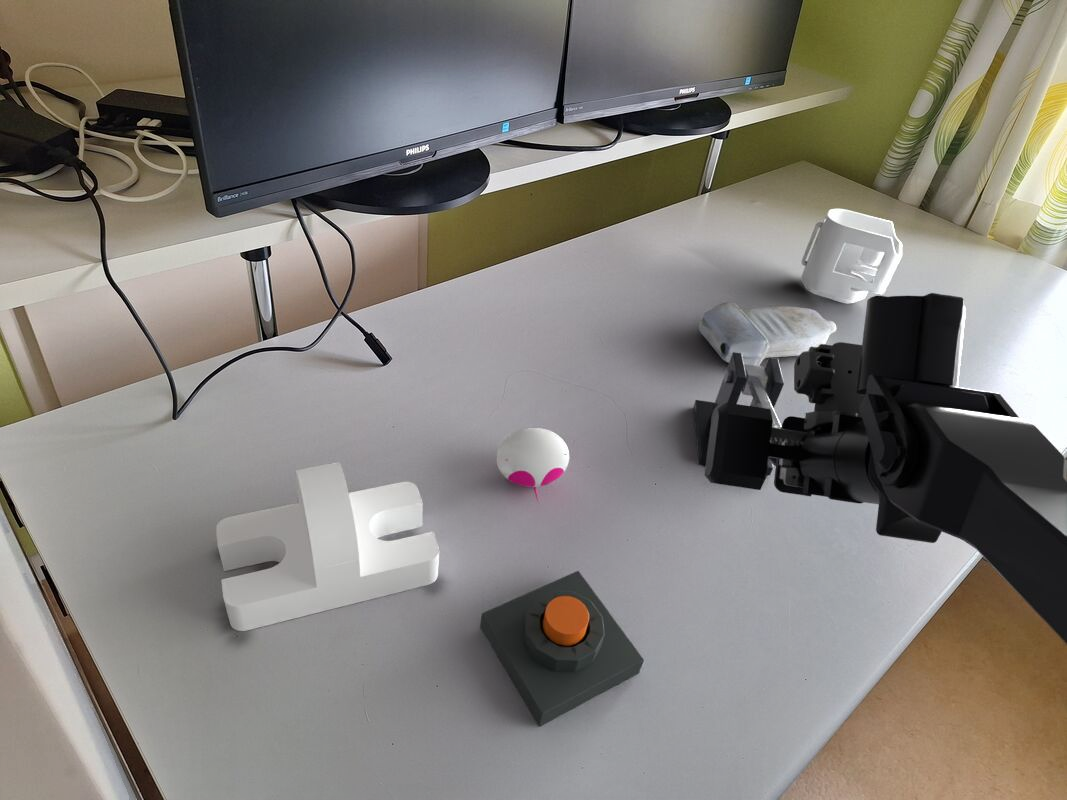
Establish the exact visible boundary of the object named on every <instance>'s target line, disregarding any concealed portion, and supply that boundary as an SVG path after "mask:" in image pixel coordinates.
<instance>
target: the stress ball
mask: <svg viewBox="0 0 1067 800" xmlns="http://www.w3.org/2000/svg"><path fill="white" fill-rule="evenodd" d="M569 462H570V451H569V447H568V445H567V444H566V442H565V440H564V439H563V437H561V436H559V434H557V433H555V432H553V430H550V429H546V428H542V427H528V428H527V427H525V428H522V429H520V430H516V431H514V432H512V433H511V434H509V435H508V436H506V438H504V439H503V440H502V442H501V443H500V445H499V446H498V449H497V452H496V465H497V467H498V470H499V472H500V474H501V475H502V476H503V477H504V478H505V479H507V480H508V481H509V482H511V483H512V484H515V485H518V486H520V487H526V488H533V491H534V495H535V497H536V499H537V500H536V501H537V503H538V505H539V504H540V503H539V498H538V492H537V488H539V487H542V486H546V485H549V484H551V483H553V482H555V481H556V480H558V479H559V478H560V477H561V476H562V475H563V474H564V473H565V471H567V468H568V466H569Z"/></svg>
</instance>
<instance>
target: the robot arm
mask: <svg viewBox="0 0 1067 800" xmlns="http://www.w3.org/2000/svg"><path fill="white" fill-rule="evenodd" d="M964 301H965V299H964V298H963V297H962V296H956V295H950V294H949V295H948V294H944V293H943V294H942V293H936V292H930V293H927V294H925V295H893V296H892V295H891V296H886V295H874V296H870V297H869V298H868V299H867V300H866V309H865V315H864V316H865V317H864V326H863V334H862V342H861V343H862V344H858V343H851V342H843V341H840V342H839V341H838V342H835V343H833V344H832V345H831V344H820V345H819V346H818V347H812V346H811V347H810V348H809V351H804V352H802V353H801V354H800V355H798V356H797V358H796V359H795V361H794V366H793V369H794V370H793V389H794V392H795V393H797V394H799V395H800V394H801V395H805V396H806V397H807V398H808V403H809V404H814V409H813V411H807V412H805V415H804V417H799V416H793V415H792V416H791V415H790V416H787V417H785V418H784V419H783V420H782V423H781V429H780V428H773V427H772V423H773V419H772V414H771V409H767V408H760V407H753V406H750V405H747V404H739V403H737V404H733V403H723V404H720V405H719V406H718V407H716V408H715V409H714V410H713V412H712V420H711V427H710V435H709V443H708V450H707V458H706V466H704V476H705V478H706V479H707V480H708V481H709V483H710V484H716V485H722V486H729V487H736V488H742V489H743V488H744V489H750V490H756V491H761V490H762V488H763V486H764V483H765V481H766V478H767V475H766V472H767V464H768V457H772V458H777V461H776V466H775V469H774V479H773V485H774V488H775V489H776V490H777V491H779V492H780V493H785V494H791V495H799V496H804V497H812V496H819V497H823V498H824V497H826V498H827V499H829V500H833V501H838V502H839V501H840V502H846V503H852V504H853V503H854V504H864V503H866V504H873V505H878V507H877V508H878V509H877V515H876V525H875V532H876V534H877V535H878V536H881V537H887V538H888V537H889V538H895V539H900V540H901V539H902V540H909V541H915V542H921V543H930V544H934V543H937V541H938V540H939V537H940V536H941V534H942V533H945V534H946V535H950V536H952V537H954V538H956V539H959V540H961V541H963V542H965V543H966V544H968V545H969V546H971V547H972V548H973V549H975V550H976V551H977V552H978V553H979V554H980V555H981V556H982V557H983V558H984V559H985V560H986V562H987V563H988V564H990V566H991V567H992V568H993V569H994V570H995V571H996V572H997V573H998V575H1000V577H1002V578H1003V579H1004V581H1006V583H1008V585H1009V586H1010V587H1011V588H1012V589H1013V590H1014V591H1015V592H1016V593H1017V594H1018V595H1019V596H1020V598H1021V599H1023V600H1024V601H1025V603H1027V605H1028V607H1030V608H1031V609H1032V610H1033V611H1034V612H1035V613H1036V614H1037V615H1038V616H1039V617H1040V619H1041V620H1043V621H1044V623H1045V624H1046V625H1047V626H1048V627H1049V628H1050V629H1051V630H1052V631H1053V632H1054V633H1055V634H1056V635H1057V636H1058V638H1060V640H1061V641H1063V643H1064V644H1065V645H1066V646H1067V459H1066V457H1065V456H1064V454H1062V453H1061V451H1059V450H1058V448H1056V446H1055V445H1054V444H1053V443H1052V442H1051V441H1050V440H1049V439H1048V438H1047V437H1046V436H1045V435H1044V434H1043V432H1042V431H1041V430H1040V429H1039V428H1038V427H1037V426H1036V425H1034V424H1033V423H1032V421H1028V420H1025V419H1023V418H1020V417H1019V415H1018V414H1017V413H1016V411H1015V410H1014V409H1013V408H1012V407H1011V406H1010V404H1009V403H1008V402H1007V401H1006V399H1005V398H1004V397H1003V396H1002V394H1001V393H999V392H993V391H986V390H981V389H980V390H979V389H974V388H973V389H972V388H966V387H959V377H960V368H961V367H960V366H961V359H962V351H963V340H964V330H965V321H966V312H967V309H966V308H967V307H966V305H964V303H965V302H964ZM774 438H775V441H776V442H778V441H779V444H772V443H770V442H771V441H773V440H774Z"/></svg>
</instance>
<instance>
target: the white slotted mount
mask: <svg viewBox="0 0 1067 800" xmlns="http://www.w3.org/2000/svg"><path fill="white" fill-rule="evenodd" d="M294 473H295V483H296V490H297V499H298V502H296V503H291V504H286V505H282V506H277V507H276V506H275V507H270V508H267V509H262V510H256V511H251V512H247V513H242V514H237V515H231V516H228V517H225V518H222V519H221V520H220V521H219V522H218V523H217V525H216V527H215V534H216V544H217V548H218V553H219V556H220V560H221V564H222V568H223V572H228V571H232V570H236V569H240V568H246V567H249V566H254V565H258V564H264V563H269V562H277V563H278V564H276V565H274V566H273V567H269V568H266V569H262V570H258V571H257V570H256V571H251V572H249V573H245V574H239V575H235V576H230V577H227V578H221V590H222V598H223V602H224V605H225V610H226V613H227V617H228V620H229V624H230V626H231V628H232V629H233V630H235V631H237V632H246V631H247V632H248V631H250V630H254V629H258V628H262V627H267V626H271V625H274V624H279V623H282V622H287V621H290V620H294V619H299V618H301V617H306V616H310V615H314V614H318V613H323V612H327V611H330V610H334V609H338V608H343V607H347V606H350V605H355V604H358V603H363V602H366V601H370V600H374V599H378V598H383V597H386V596H391V595H395V594H398V593H402V592H407V591H410V590H413V589H417V588H422V587H425V586H429V585H432V584H434V583H435V582H436V580H438V577H439V563H440V546H439V544H438V541H437V538H436V535H435V532H434V531H429V532H425V533H420V534H416V535H411V536H407V537H403V538H398V539H393V540H383V539H380V538H381V537H384V536H389V535H393V534H397V533H402V532H406V531H410V530H414V529H419V528H423V511H424V508H423V507H424V503H423V500H422V496H421V494H420V491H419V488H418V486H417V485H416V484H415V483H413V482H410V481H400V482H395V483H391V484H386V485H381V486H376V487H371V488H366V489H361V490H355V491H351V492H349V488H348V484H347V481H346V477H345V473H344V470H343V467H342V464H341V462H338V461H337V462H332V463H326V464H320V465H315V466H309V467H305V468H300V469H295V472H294Z"/></svg>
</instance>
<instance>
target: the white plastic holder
mask: <svg viewBox="0 0 1067 800" xmlns="http://www.w3.org/2000/svg"><path fill="white" fill-rule="evenodd" d="M816 235H817V236H816ZM811 248H812V249H811ZM809 253H810V254H809ZM808 255H809V256H808ZM807 257H808V258H807ZM902 257H903V243H902V242H901V240H899V239H898V237H897V236H896V231H895V227H894V223H893V221H892V220H887V219H884V218H879V217H876V216H873V215H869V214H864V213H860V212H858V211H853V210H849V209H845V208H831V209H829V210H827V213H826V215H825V217H824V219H823V220H822V221H819V222H817V223H815V226H814V228H813V231H812V233H811V236H810V238H809V241H808V243H807V246H806V248H805V251H804V253H803V255H802V259H801V265H802V266H804V267H803V270H802V273H801V276H800V280H801V282H802V284H803V286H804V287H805V289H806V290H807V291H809V292H810V293H812V294H814V295H816V296H819V297H823V298H827V299H830V300H833V301H835V302H838V303H842V304H854V303H856V302H859V301H862V300H864V299H865V298H866V297H867V295H868V293H871V294H875V295H883V294H885V292H886V290H887V287H888V286H889V283H890V282H891V280H892V277H893V276H894V273H895V271H896V269H897V266H898V264H899V263H900V261H901V259H902ZM858 262H860V263H861V264H860V263H858ZM863 264H864V265H863ZM871 266H873V267H871ZM875 266H878V267H877V268H874V267H875ZM853 271H854V272H853ZM855 272H858V273H862V274H865V275H866V274H867V275H869V276H873V278H872V280H871V281H870V280H867V279H866V278H865V277H863V276H862V275H860V274H858V273H855Z"/></svg>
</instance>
